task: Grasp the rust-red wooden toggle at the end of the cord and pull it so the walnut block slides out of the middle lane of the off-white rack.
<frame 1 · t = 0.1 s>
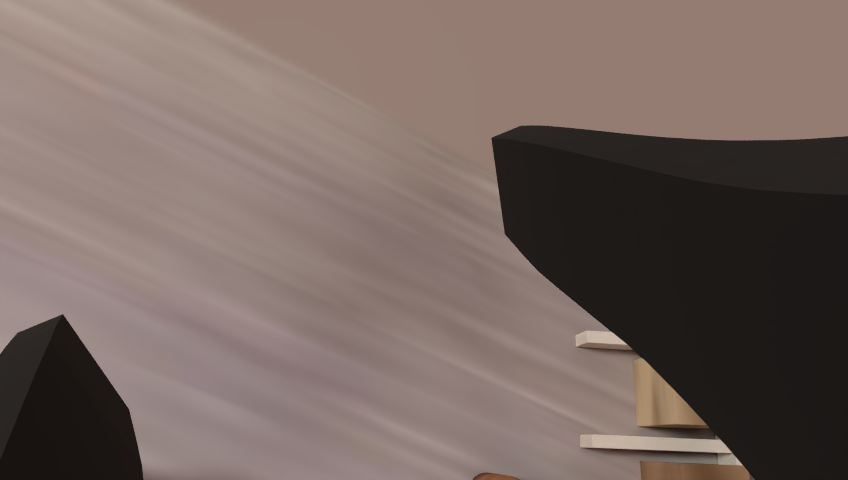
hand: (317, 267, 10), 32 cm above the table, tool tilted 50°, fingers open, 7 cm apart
oak block: (664, 394, 44), resting in lane rack
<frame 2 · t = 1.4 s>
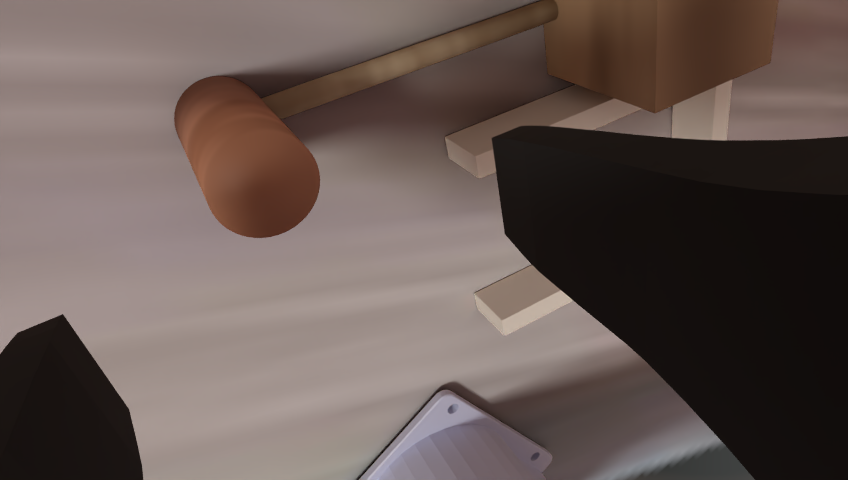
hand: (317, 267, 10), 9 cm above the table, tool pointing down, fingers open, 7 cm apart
lane rack: (561, 0, 20), on the table
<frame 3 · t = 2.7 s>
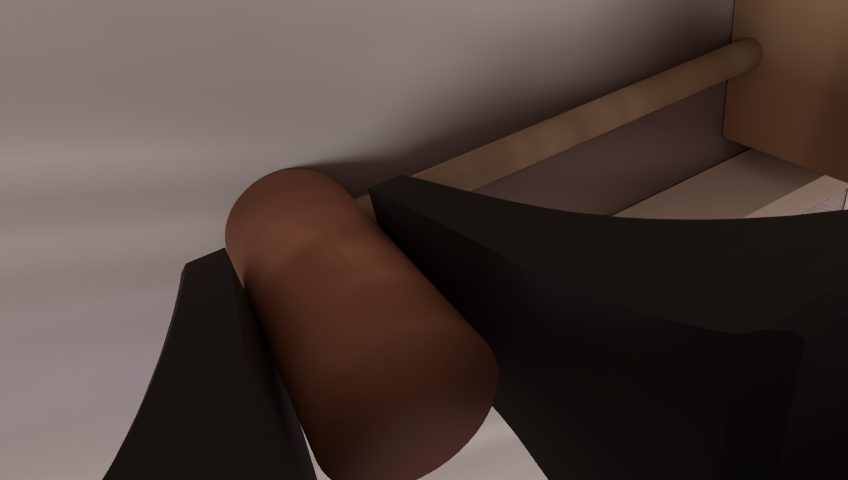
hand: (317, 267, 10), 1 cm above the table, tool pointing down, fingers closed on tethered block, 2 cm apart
lane rack: (754, 38, 14), on the table
tethered block: (799, 19, 15), on the table, touching gripper
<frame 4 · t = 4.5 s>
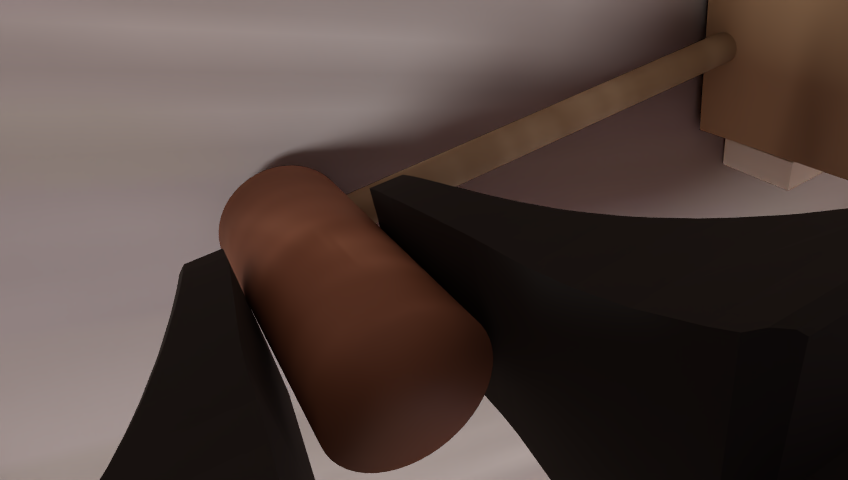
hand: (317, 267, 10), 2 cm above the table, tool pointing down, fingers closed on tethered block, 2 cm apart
tethered block: (770, 15, 15), on the table, touching gripper
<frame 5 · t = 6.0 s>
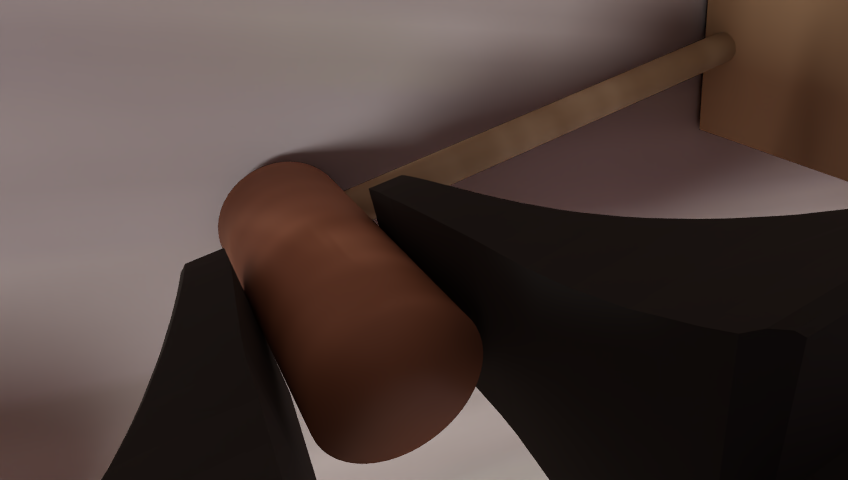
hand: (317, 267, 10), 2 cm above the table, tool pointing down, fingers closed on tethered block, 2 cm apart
tethered block: (771, 15, 15), on the table, touching gripper
when the fingers open (2 cm above the table, at t = 6.5 s): tethered block stays where it is, on the table.
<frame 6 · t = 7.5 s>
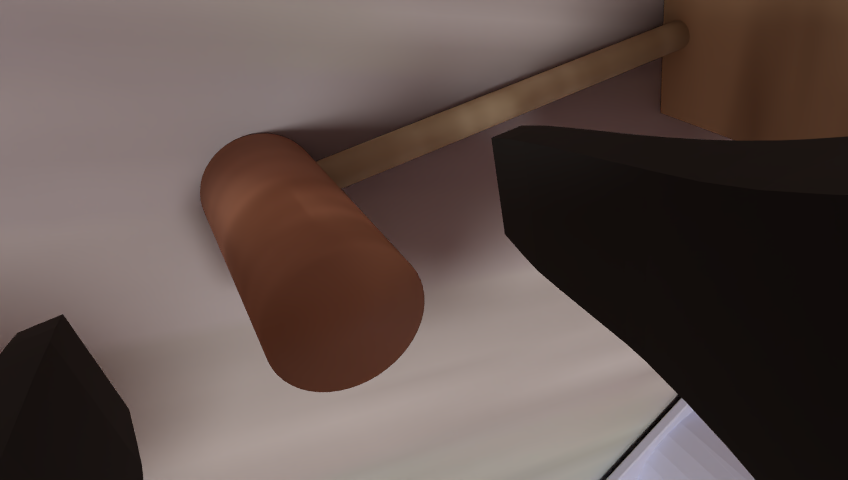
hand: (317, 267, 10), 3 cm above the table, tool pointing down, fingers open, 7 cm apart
tethered block: (728, 5, 16), on the table
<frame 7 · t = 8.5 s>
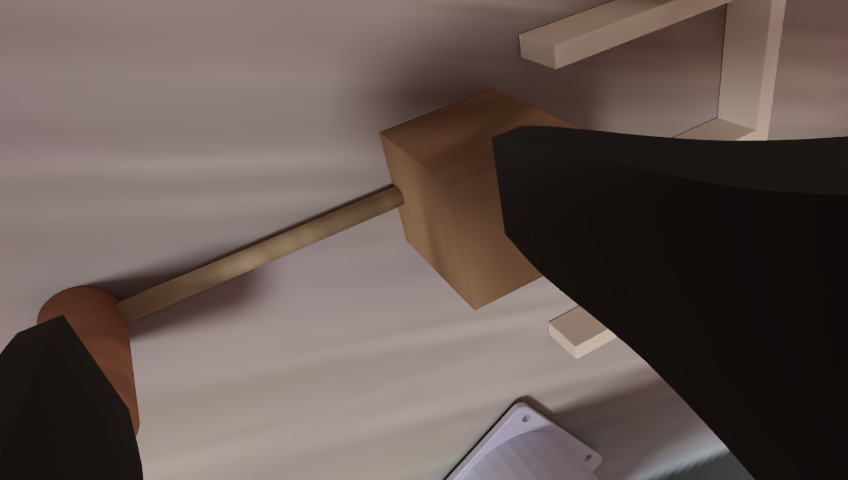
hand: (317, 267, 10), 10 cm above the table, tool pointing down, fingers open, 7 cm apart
lane rack: (631, 91, 25), on the table
tethered block: (448, 166, 22), on the table
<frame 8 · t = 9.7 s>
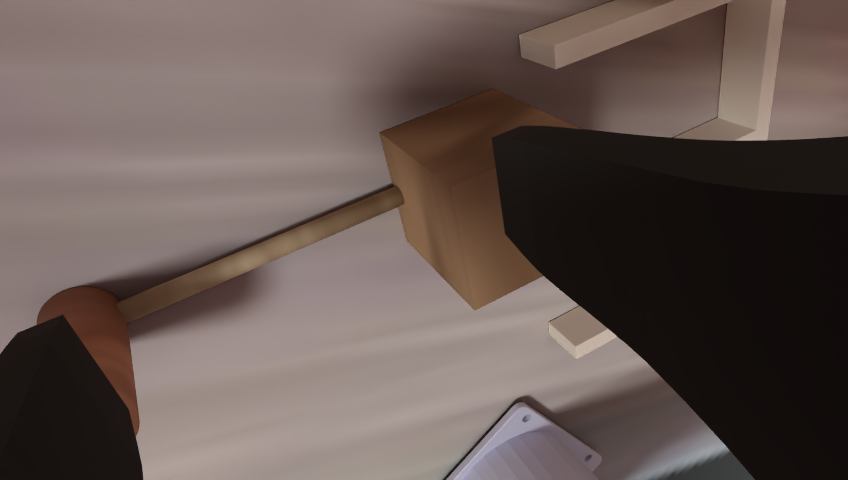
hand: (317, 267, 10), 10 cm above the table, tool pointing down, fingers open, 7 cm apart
lane rack: (631, 91, 25), on the table
tethered block: (448, 166, 22), on the table
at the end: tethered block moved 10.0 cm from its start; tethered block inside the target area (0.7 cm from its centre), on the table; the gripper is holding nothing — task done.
